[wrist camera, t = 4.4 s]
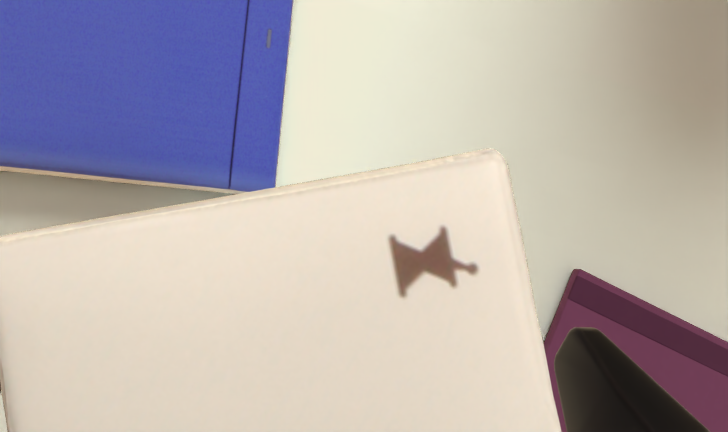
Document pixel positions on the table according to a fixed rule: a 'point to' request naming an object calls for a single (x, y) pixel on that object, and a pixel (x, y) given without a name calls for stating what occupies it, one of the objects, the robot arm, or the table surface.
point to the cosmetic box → (283, 311)
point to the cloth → (647, 346)
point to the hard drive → (145, 90)
